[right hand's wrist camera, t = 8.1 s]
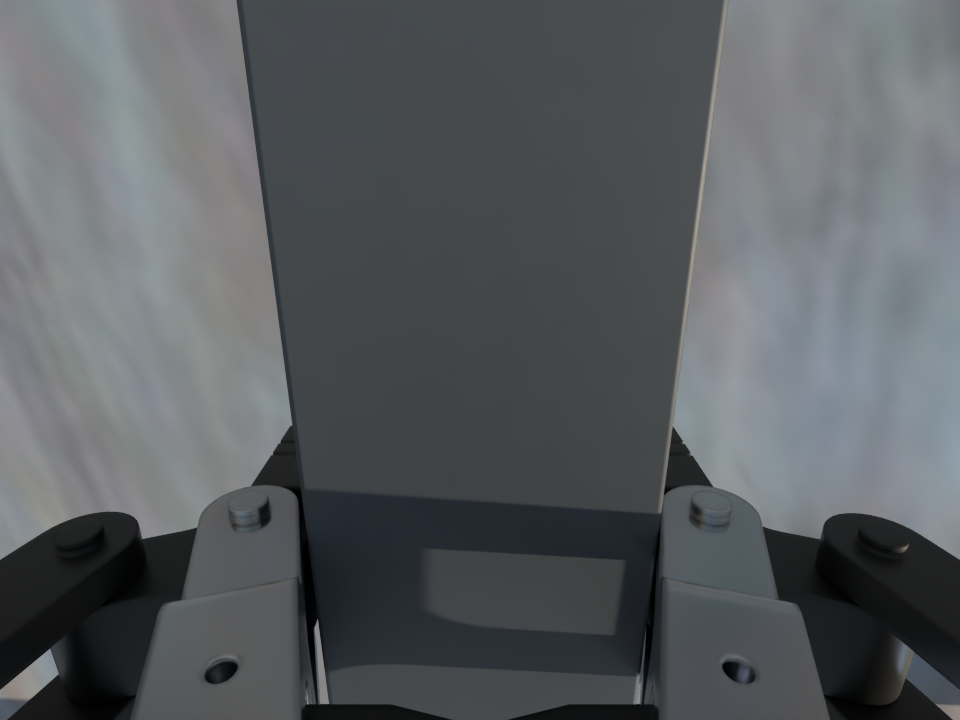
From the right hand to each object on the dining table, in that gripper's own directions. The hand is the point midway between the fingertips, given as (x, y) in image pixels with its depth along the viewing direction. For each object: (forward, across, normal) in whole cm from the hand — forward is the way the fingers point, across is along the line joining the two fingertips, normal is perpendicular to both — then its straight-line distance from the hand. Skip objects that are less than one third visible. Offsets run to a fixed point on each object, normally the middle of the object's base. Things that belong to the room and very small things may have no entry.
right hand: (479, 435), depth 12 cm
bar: (+3, 0, -25) cm, 26 cm away
